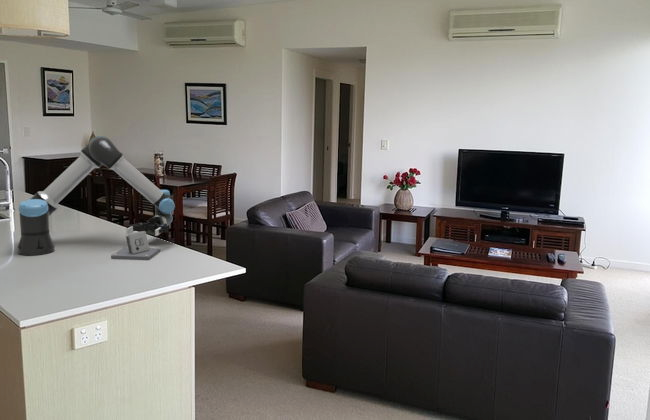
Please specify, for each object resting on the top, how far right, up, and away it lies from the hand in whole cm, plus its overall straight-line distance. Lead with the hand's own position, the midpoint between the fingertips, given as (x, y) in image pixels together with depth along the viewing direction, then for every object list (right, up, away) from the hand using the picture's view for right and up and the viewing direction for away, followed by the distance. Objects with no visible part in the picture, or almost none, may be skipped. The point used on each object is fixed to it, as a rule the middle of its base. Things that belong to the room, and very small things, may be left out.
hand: (141, 232), depth 260 cm
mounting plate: (-1, -10, -5) cm, 11 cm away
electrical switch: (0, -9, -5) cm, 10 cm away
